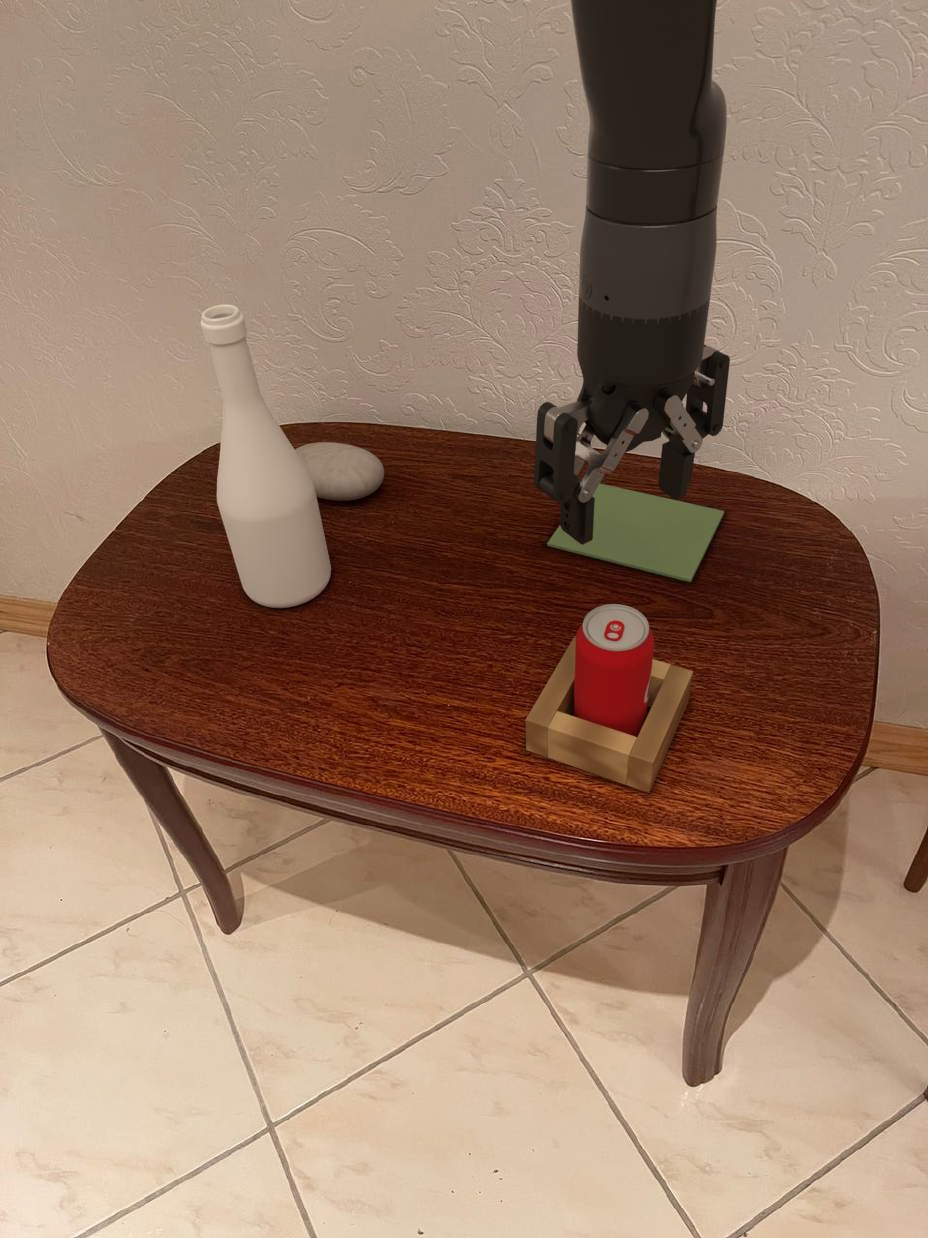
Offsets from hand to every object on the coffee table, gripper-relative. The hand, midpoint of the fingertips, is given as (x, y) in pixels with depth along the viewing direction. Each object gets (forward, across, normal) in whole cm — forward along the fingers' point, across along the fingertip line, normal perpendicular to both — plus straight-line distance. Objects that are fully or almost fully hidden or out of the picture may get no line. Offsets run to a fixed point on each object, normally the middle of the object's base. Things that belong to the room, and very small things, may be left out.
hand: (626, 514), depth 62 cm
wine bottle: (+23, -14, +36) cm, 45 cm away
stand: (+23, 0, 0) cm, 23 cm away
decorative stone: (+23, -2, +49) cm, 54 cm away
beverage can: (+23, 0, 0) cm, 23 cm away
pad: (+23, +21, +20) cm, 37 cm away
